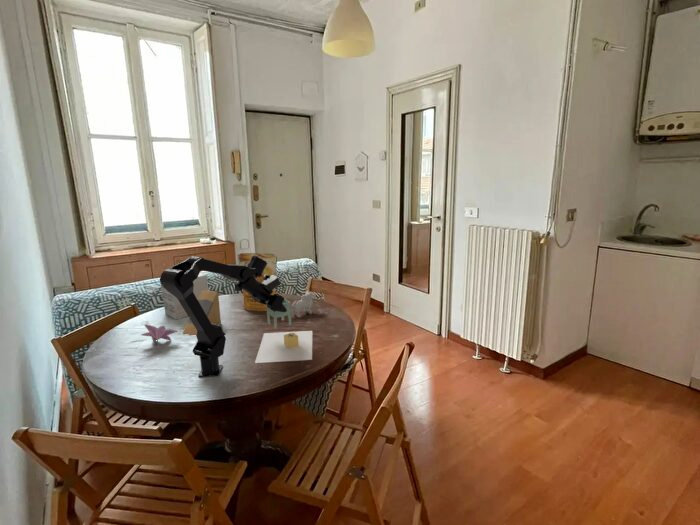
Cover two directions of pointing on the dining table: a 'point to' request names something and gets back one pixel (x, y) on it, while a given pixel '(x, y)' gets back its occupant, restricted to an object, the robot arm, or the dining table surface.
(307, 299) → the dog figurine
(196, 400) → the dining table surface
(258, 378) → the dining table surface
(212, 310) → the sandwich container
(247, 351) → the dining table surface
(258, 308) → the pancake mix bag
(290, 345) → the plus sign cube
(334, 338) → the dining table surface
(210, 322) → the robot arm
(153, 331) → the lily
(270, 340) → the white rectangular sheet
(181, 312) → the supplement box
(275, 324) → the green hollow square frame
